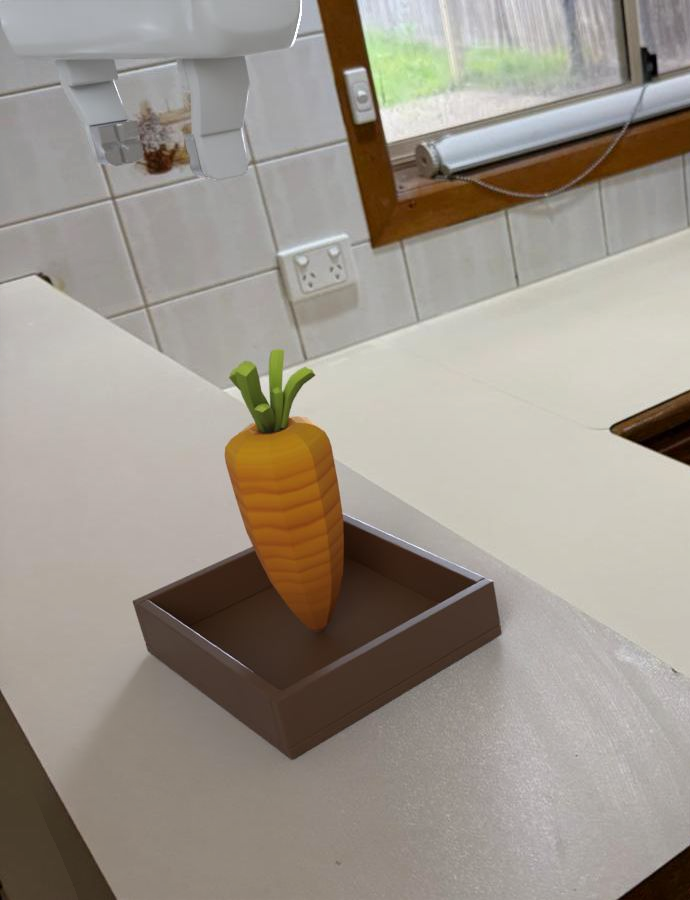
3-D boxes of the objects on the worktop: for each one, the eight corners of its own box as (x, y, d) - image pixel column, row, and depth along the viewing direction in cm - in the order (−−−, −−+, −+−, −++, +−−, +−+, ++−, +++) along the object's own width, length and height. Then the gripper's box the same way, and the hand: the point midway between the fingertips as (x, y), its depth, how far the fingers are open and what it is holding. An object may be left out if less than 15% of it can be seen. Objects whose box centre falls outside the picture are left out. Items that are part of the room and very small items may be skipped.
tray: (147, 651, 59) (131, 600, 58) (344, 555, 67) (334, 508, 65) (291, 760, 50) (276, 702, 48) (502, 634, 57) (493, 580, 56)
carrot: (323, 597, 61) (263, 331, 55) (388, 619, 58) (332, 341, 53) (249, 643, 58) (176, 364, 52) (315, 669, 55) (246, 377, 49)
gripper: (-92, -163, 48) (4, 168, 54) (114, -253, 34) (214, 203, 40) (57, -163, 52) (132, 145, 58) (295, -244, 38) (363, 170, 44)
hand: (167, 169), depth 49 cm, fingers open, 8 cm apart
